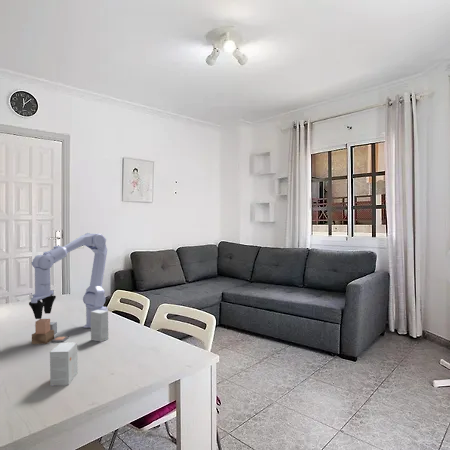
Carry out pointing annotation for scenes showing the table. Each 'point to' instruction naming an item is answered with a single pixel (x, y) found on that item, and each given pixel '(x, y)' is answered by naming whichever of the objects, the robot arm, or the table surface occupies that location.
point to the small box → (63, 363)
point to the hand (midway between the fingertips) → (43, 315)
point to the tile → (60, 339)
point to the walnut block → (42, 337)
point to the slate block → (53, 327)
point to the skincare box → (99, 325)
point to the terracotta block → (42, 326)
